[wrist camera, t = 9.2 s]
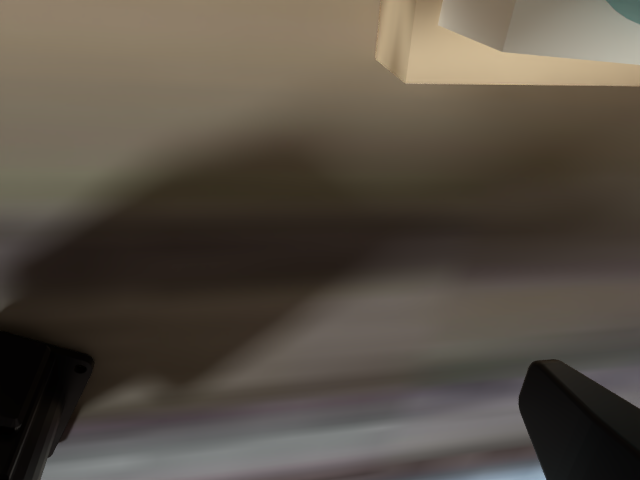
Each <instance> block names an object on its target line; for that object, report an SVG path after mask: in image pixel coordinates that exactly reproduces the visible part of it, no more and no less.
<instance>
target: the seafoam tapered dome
mask: <svg viewBox="0 0 640 480" xmlns="http://www.w3.org/2000/svg"><path fill="white" fill-rule="evenodd" d="M606 1H607V2H608V3H609V4H610V5H611V6H612V7H613V9H614V10H615V11H617V12H618V13H620V14H621V15H622V16H624V17H625V18H627V19H629V20H631V21H633V22H635V23H638V24H640V0H606Z"/></svg>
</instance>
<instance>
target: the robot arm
mask: <svg viewBox="0 0 640 480" xmlns="http://www.w3.org/2000/svg"><path fill="white" fill-rule="evenodd" d="M94 363H95V362H94V360H93V358H92V357H91V356H89V355H86V354H83V353H79V352H75V351H72V350H68V349H65V348H61V347H57V346H54V345H50V344H46V343H43V342H39V341H35V340H32V339H28V338H24V337H21V336H17V335H14V334H10V333H6V332H3V331H0V480H40V479H41V476H42V473H43V470H44V467H45V464H46V461H47V458H49V457H51V455H52V454H53V452H54V450H55V448H56V446H57V444H58V442H59V440H60V438H61V436H62V434H63V432H64V429H65V427H66V425H67V423H68V421H69V419H70V417H71V415H72V413H73V411H74V409H75V407H76V405H77V403H78V400H79V398H80V396H81V394H82V392H83V390H84V388H85V386H86V384H87V382H88V380H89V378H90V376H91V374H92V371H93V367H94ZM78 365H84V366H85V367H80V366H78ZM519 409H520V413H521V416H522V418H523V421H524V423H525V426H526V429H527V431H528V434H529V436H530V439H531V441H532V444H533V447H534V449H535V452H536V454H537V457H538V459H539V462H540V465H541V467H542V470H543V472H544V475H545V477H546V480H640V409H639V408H638V407H636V406H634V405H633V404H631V403H629V402H628V401H626V400H624V399H623V398H621V397H619V396H618V395H616V394H614V393H613V392H611V391H610V390H608V389H606V388H605V387H603V386H601V385H600V384H598V383H596V382H595V381H593V380H591V379H590V378H588V377H586V376H585V375H583V374H581V373H580V372H578V371H577V370H575V369H573V368H572V367H570V366H568V365H567V364H565V363H563V362H561V361H559V360H555V359H551V360H538V361H534V362H532V363H531V364H530V366H529V368H528V371H527V374H526V377H525V380H524V383H523V386H522V389H521V392H520V395H519Z"/></svg>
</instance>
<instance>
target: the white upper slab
mask: <svg viewBox="0 0 640 480" xmlns="http://www.w3.org/2000/svg"><path fill="white" fill-rule="evenodd" d="M438 26H441V27H443V28H446V29H448V30H450V31H453V32H455V33H458V34H460V35H462V36H465V37H467V38H470V39H472V40H474V41H477V42H479V43H482V44H484V45H486V46H489V47H491V48H494V49H496V50H498V51H501V52H507V53H517V54H528V55H538V56H549V57H560V58H570V59H581V60H591V61H602V62H613V63H623V64H634V65H640V24H638V23H635V22H633V21H631V20H629V19H627V18H625V17H624V16H622V15H621V14H620V13H618V12H617V11H615V10H614V9H613V7H612V6H611V5H610V4H609V3H608V2H607V1H606V0H443V2H442V7H441V12H440V17H439V22H438Z"/></svg>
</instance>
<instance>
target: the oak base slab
mask: <svg viewBox="0 0 640 480" xmlns="http://www.w3.org/2000/svg"><path fill="white" fill-rule="evenodd" d="M442 2H443V0H381V3H380V13H379V24H378V34H377V44H376V54H375V59H376V60H377V61H378V62H379V63H381V64H382V65H383V66H384V67H386V68H387V69H388V70H389V71H391V72H392V73H393V74H394V75H396V76H397V77H398V78H399V79H401V80H402V81H403V82H404V83H406V84H491V85H582V86H640V65H634V64H623V63H613V62H602V61H591V60H581V59H570V58H560V57H549V56H538V55H528V54H517V53H507V52H501V51H498V50H496V49H494V48H491V47H489V46H486V45H484V44H482V43H479V42H477V41H474V40H472V39H470V38H467V37H465V36H462V35H460V34H458V33H455V32H453V31H450V30H448V29H446V28H443V27H441V26H438V22H439V17H440V12H441V7H442Z"/></svg>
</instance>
